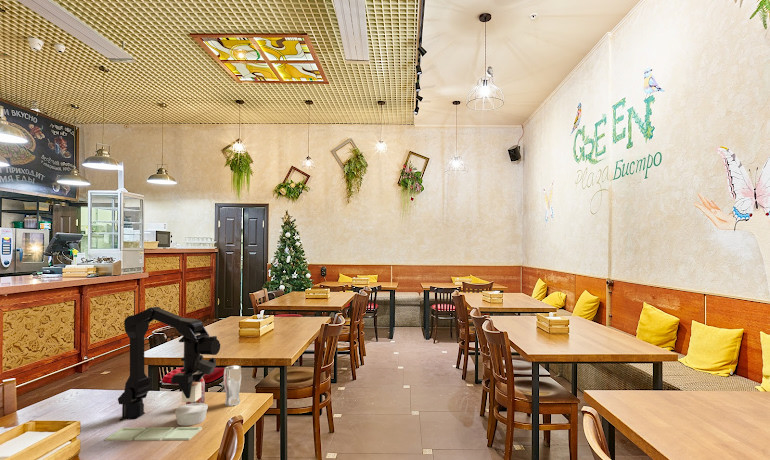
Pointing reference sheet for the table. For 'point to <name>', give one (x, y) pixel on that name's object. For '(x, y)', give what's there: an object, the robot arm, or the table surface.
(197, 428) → the tray
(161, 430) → the tray
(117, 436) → the tray
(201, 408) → the ramekin
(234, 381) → the beer glass
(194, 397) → the cream block
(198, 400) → the soda can
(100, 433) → the table surface
